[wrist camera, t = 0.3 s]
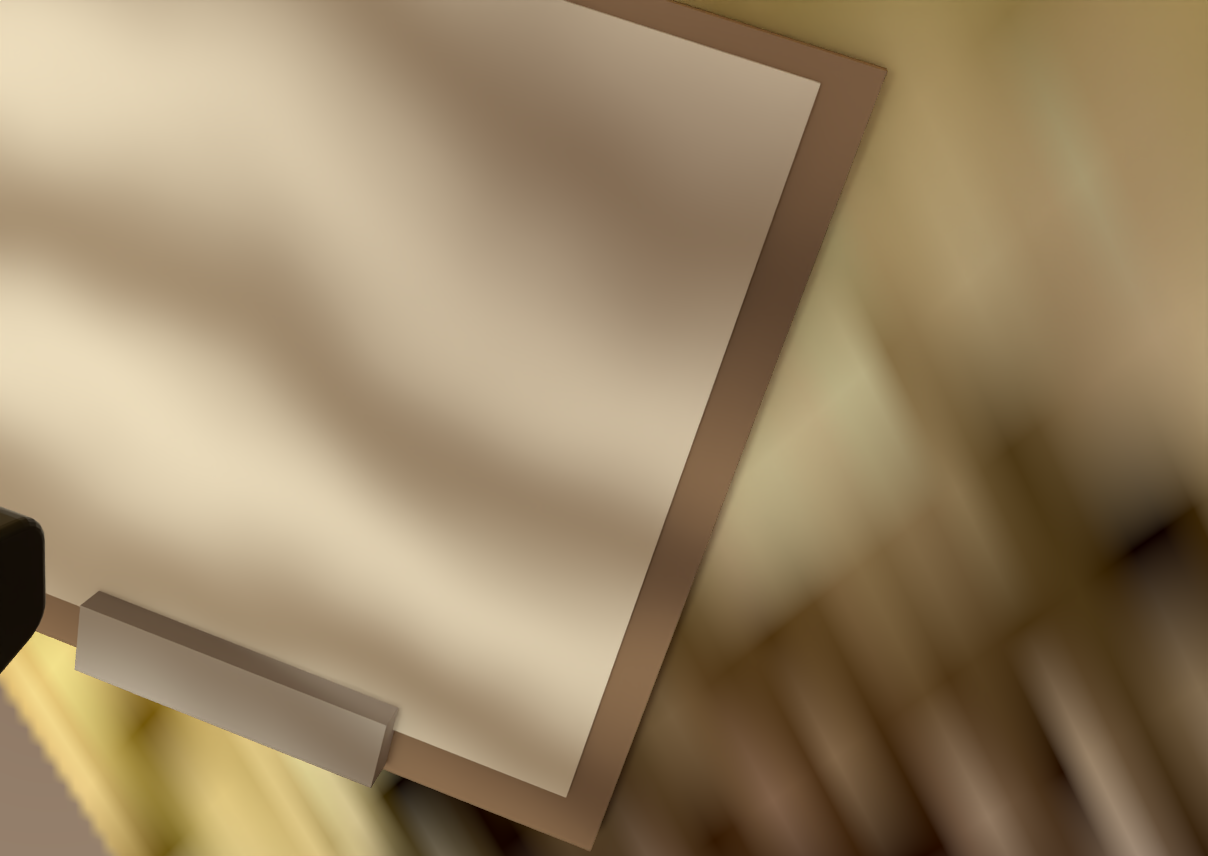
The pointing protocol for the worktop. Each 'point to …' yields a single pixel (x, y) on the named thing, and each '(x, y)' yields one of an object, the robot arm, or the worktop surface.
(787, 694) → the worktop surface
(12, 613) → the robot arm
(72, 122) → the brown framed square board
